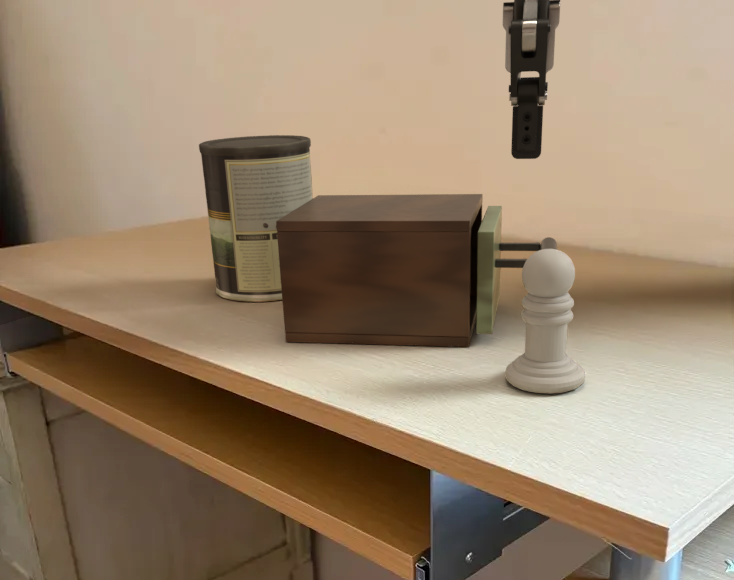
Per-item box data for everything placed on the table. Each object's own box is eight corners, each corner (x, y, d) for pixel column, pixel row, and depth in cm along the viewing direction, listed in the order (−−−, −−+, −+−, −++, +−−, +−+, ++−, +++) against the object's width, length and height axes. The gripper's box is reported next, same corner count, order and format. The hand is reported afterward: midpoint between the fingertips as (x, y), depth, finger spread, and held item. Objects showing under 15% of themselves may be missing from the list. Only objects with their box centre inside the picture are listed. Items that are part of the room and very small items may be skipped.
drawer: (554, 295, 72) (558, 205, 70) (555, 335, 62) (560, 231, 59) (351, 292, 76) (347, 206, 73) (320, 329, 66) (314, 231, 63)
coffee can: (194, 297, 80) (175, 145, 75) (252, 273, 89) (240, 135, 83) (285, 306, 76) (272, 146, 70) (337, 280, 84) (330, 135, 79)
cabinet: (481, 302, 75) (482, 193, 71) (468, 347, 63) (470, 220, 60) (324, 299, 78) (317, 195, 74) (285, 342, 66) (275, 221, 62)
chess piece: (544, 402, 53) (550, 262, 49) (488, 379, 57) (491, 248, 53) (602, 383, 55) (612, 249, 52) (545, 362, 60) (551, 237, 56)
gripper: (598, -130, 50) (579, 167, 56) (588, -94, 62) (574, 148, 68) (473, -120, 51) (469, 169, 58) (487, -87, 63) (482, 149, 70)
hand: (526, 157), depth 63 cm, fingers closed
